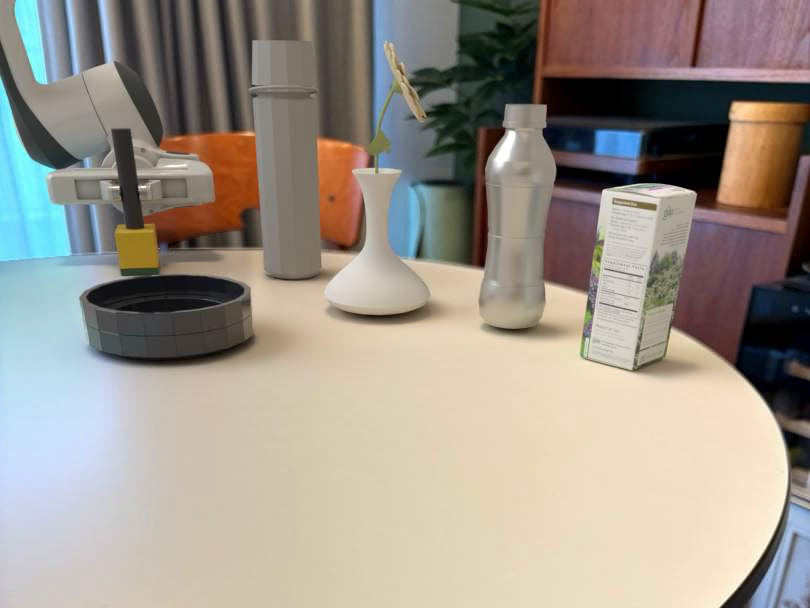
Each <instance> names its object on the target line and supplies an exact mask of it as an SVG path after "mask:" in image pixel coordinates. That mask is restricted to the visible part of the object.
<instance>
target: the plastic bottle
mask: <svg viewBox="0 0 810 608" xmlns="http://www.w3.org/2000/svg"><path fill="white" fill-rule="evenodd" d="M547 109H548V107H547V104H538V103H536V104H535V103H506V104H505V107H504V118H503V121H502V127H503V128H505V132H504V135H503V136H502V137H501V139H500V140H499V141H498V142H497V144H496V145H495V146H494V148H493V150H492V152H491V153H490V155H489V156H488V158H487V161H486V165H485V168H484V179H485V190H486V191H485V192H486V202H487V228H488V232H487V248H486V256H485V264H484V271H483V278H482V279H481V280H482V281H481V284H480V288H479V294H478V311H479V315H480V317H481V318H482V320H483V322H484V323H485V324H487V326H491V327H495V328H500V329H507V330H518V329H527V328H532V327H535V326H536V325H538V323H539V322H540V320H541V319H542V318H543V315H544V312H545V308H546V304H547V301H546V300H547V299H546V286H545V285H546V284H545V280H544V278H545V277H544V273H545V272H544V271H545V270H544V265H545V263H544V262H545V261H544V254H545V253H544V252H545V251H544V249H545V247H544V246H545V238H546V234H545V233H546V231H545V230H546V229H547V224H548V222H547V221H548V216H549V215H548V214H549V209H550V205H551V200H552V196H553V191H554V186H555V184H554V183H555V181H556V177H557V165H556V161H555V158H554V155H553V153H552V150H551V148H550V147H549V144H548V143H547V141H546V139H545V138H544V136H543V129H545V128H547V124H548V123H547V121H546V120H547V111H548V110H547Z"/></svg>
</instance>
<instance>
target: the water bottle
mask: <svg viewBox="0 0 810 608" xmlns="http://www.w3.org/2000/svg"><path fill="white" fill-rule="evenodd" d="M251 48H252V50H251V52H252V53H251V61H252V62H251V85H252V87H250V88H248V93H250V94H252V95H257V96H255V97H252V109H253V110H252V111H253V122H254V123H253V125H254V139H255V155H256V168H257V169H256V170H257V183H258V197H259V211H260V212H259V213H260V226H261V227H260V228H261V242H262V255H263V257H262V258H263V269H264V271H265V273H266V274H268V275H269V276H271V277H273V278H275V279H281V280H304V279H310V278H313V277H316V276H317V275H318V274H319V272H320V271H321V269H322V268H323V266H322V263H323V262H322V238H321V209H320V208H321V207H320V183H319V179H320V178H319V153H318V152H319V151H318V149H319V148H318V125H317V123H318V122H317V102H316V101H317V98H315V97H313V96H311V95H314V94H317V93H319V92H320V89H319V88H317V87H315V86H317V85H318V83H317V75H316V67H315V58H314V48H313V41H309V40H308V41H307V40H285V39H284V40H280V39H276V40H274V39H273V40H272V39H257V40H255V39H254V40H253V39H252V45H251ZM253 85H254V86H253Z"/></svg>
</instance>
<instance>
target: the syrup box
mask: <svg viewBox="0 0 810 608" xmlns="http://www.w3.org/2000/svg"><path fill="white" fill-rule="evenodd" d="M697 196H698V193H696V191H694V190H691V189H689V188H688V189H687V188H684V187H680V186H676V185H671V184H663V183H636V184H629V185H622V186H615V187H609V188H604V189H603V190H602V191H601V196H600V197H601V198H600V205H599V213H598V219H597V225H596V226H597V227H596V234H595V242H594V247H593V249H594V250H593V254H592V263H591V271H590V276H589V277H590V278H589V284H588V291H587V299H586V300H587V301H586V307H585V313H584V320H583V327H582V335H581V342H580V349H579V356H580V357H581V358H583V359H586V360H590V361H594V362H597V363H601V364H604V365H609V366H613V367H617V368H621V369H624V370H629V371H635V370H637V369H640V368H643V367H644V366H645V367H646V366H648V365H651V364H652V363H655V362H657V361H658V362H659V361H660V360H662V359H665V358H666V356H667V352H668V346H669V342H670V338H671V337H670V336H671V332H672V327H673V322H674V316H675V310H676V306H677V301H678V296H679V291H680V285H681V280H682V276H683V275H682V274H683V269H684V264H685V259H686V253H687V247H688V244H689V238H690V233H691V228H692V222H693V218H694V212H695V207H696V206H695V205H696V201H697Z"/></svg>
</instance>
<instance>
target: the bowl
mask: <svg viewBox="0 0 810 608" xmlns="http://www.w3.org/2000/svg"><path fill="white" fill-rule="evenodd" d="M78 300H79V305H80V311H81V316H82V321H83V327H84V333H85V336H86V337H85V338H86V340H87V343H88V344H89V346H90V347H92V348H95V349H96V350H98V351H100V352H104V353H109V354H113V355H116V356H120V357H124V358H129V359H134V360H142V361H143V360H144V361H174V360H175V361H177V360H186V359H194V358H199V357H205V356H208V355H214V354H216V353H219V352H223V351H225V350H227V349H229V348H232V347H234V346H237V345H238V344H241V343H243V342H246V341H247V340H248V339H250V338H251V337H252V336H253V335H254V329H255V326H254V312H253V301H252V289H251V286H249V285H247V283H245V282H243V281H241V280H237V279H234V278H231V277H226V276H219V275H212V274H198V273H197V274H196V273H163V274H162V273H161V274H160V273H159V274H149V275H136V276H132V277H126V278H125V277H124V278H120V279H114V280H110V281H106V282H102V283H100V284H96V285H94V286H92V287H90V288H87V289H85V290H84V291H82V293H81V294H80V296H79V297H78Z"/></svg>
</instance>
